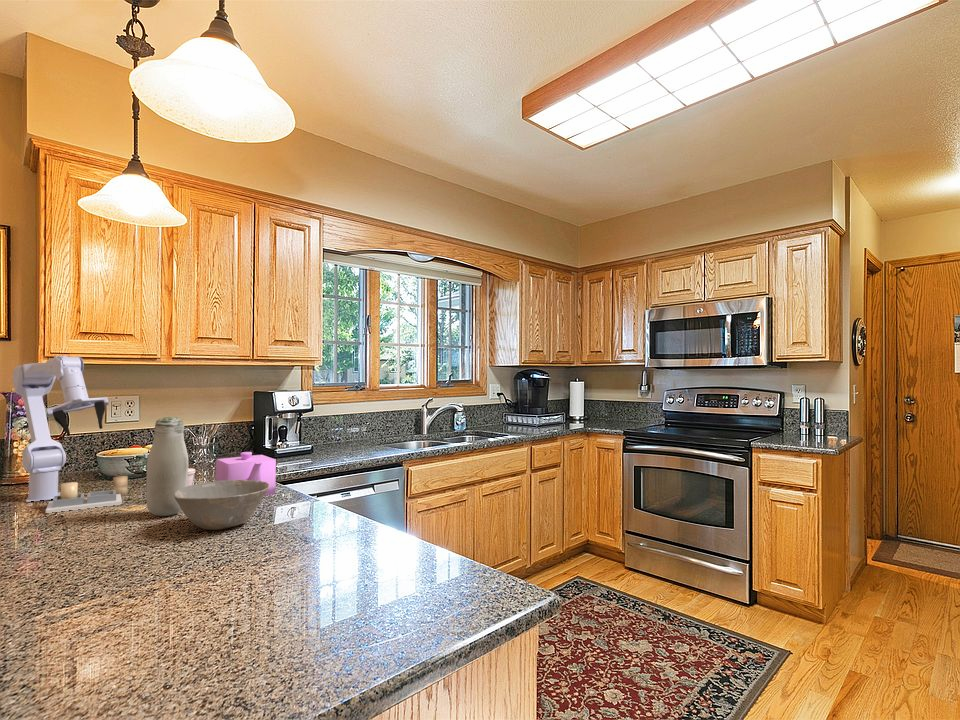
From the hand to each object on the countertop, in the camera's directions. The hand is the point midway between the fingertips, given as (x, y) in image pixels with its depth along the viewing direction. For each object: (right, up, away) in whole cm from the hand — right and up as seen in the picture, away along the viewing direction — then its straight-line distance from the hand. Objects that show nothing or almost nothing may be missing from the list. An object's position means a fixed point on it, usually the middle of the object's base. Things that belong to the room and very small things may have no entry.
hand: (85, 430), depth 152 cm
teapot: (+38, -25, +22) cm, 50 cm away
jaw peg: (-3, -24, +19) cm, 31 cm away
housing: (-5, -24, +7) cm, 25 cm away
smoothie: (+22, -24, +13) cm, 35 cm away
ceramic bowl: (+47, -24, -13) cm, 54 cm away
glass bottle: (+26, -24, -4) cm, 36 cm away
